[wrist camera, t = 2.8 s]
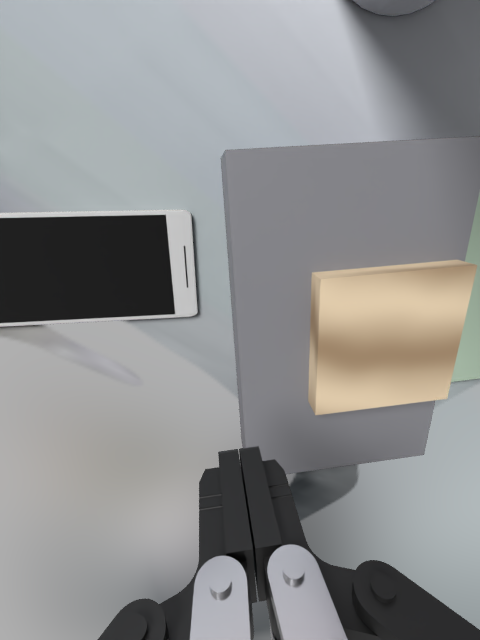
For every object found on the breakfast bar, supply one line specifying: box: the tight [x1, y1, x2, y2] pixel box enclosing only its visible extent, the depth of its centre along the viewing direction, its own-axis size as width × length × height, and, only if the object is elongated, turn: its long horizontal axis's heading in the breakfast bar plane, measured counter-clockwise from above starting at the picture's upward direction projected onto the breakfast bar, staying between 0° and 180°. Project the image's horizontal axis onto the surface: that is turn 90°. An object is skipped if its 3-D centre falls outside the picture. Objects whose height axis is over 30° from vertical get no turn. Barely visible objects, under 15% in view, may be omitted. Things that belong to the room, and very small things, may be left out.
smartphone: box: [0, 210, 198, 327], centre depth 21 cm, size 7×16×1 cm, turn 91°
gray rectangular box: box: [221, 136, 480, 474], centre depth 22 cm, size 22×14×4 cm, turn 3°
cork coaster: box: [308, 260, 477, 415], centre depth 20 cm, size 9×9×2 cm
